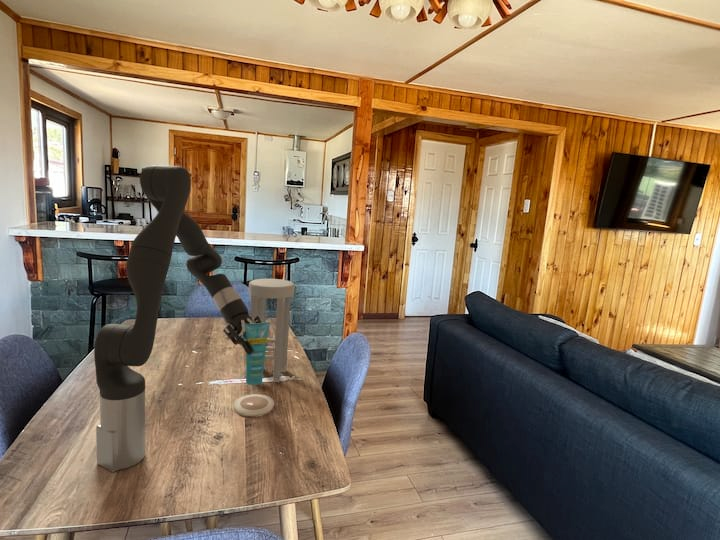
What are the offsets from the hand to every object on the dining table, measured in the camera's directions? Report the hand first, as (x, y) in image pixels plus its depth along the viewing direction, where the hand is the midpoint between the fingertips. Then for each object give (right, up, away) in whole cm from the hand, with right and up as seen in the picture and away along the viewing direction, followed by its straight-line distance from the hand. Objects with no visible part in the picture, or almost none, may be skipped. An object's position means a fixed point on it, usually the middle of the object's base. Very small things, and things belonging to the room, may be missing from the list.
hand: (258, 350), depth 125 cm
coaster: (-2, -18, +3) cm, 19 cm away
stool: (-3, -15, +27) cm, 31 cm away
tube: (-2, -11, +2) cm, 11 cm away
